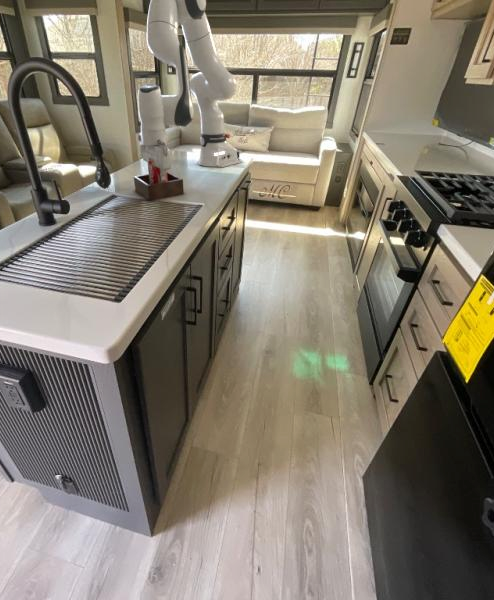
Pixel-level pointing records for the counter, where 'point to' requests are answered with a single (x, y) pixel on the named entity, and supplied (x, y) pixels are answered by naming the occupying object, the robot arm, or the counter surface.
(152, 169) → the soda can
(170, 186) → the box
